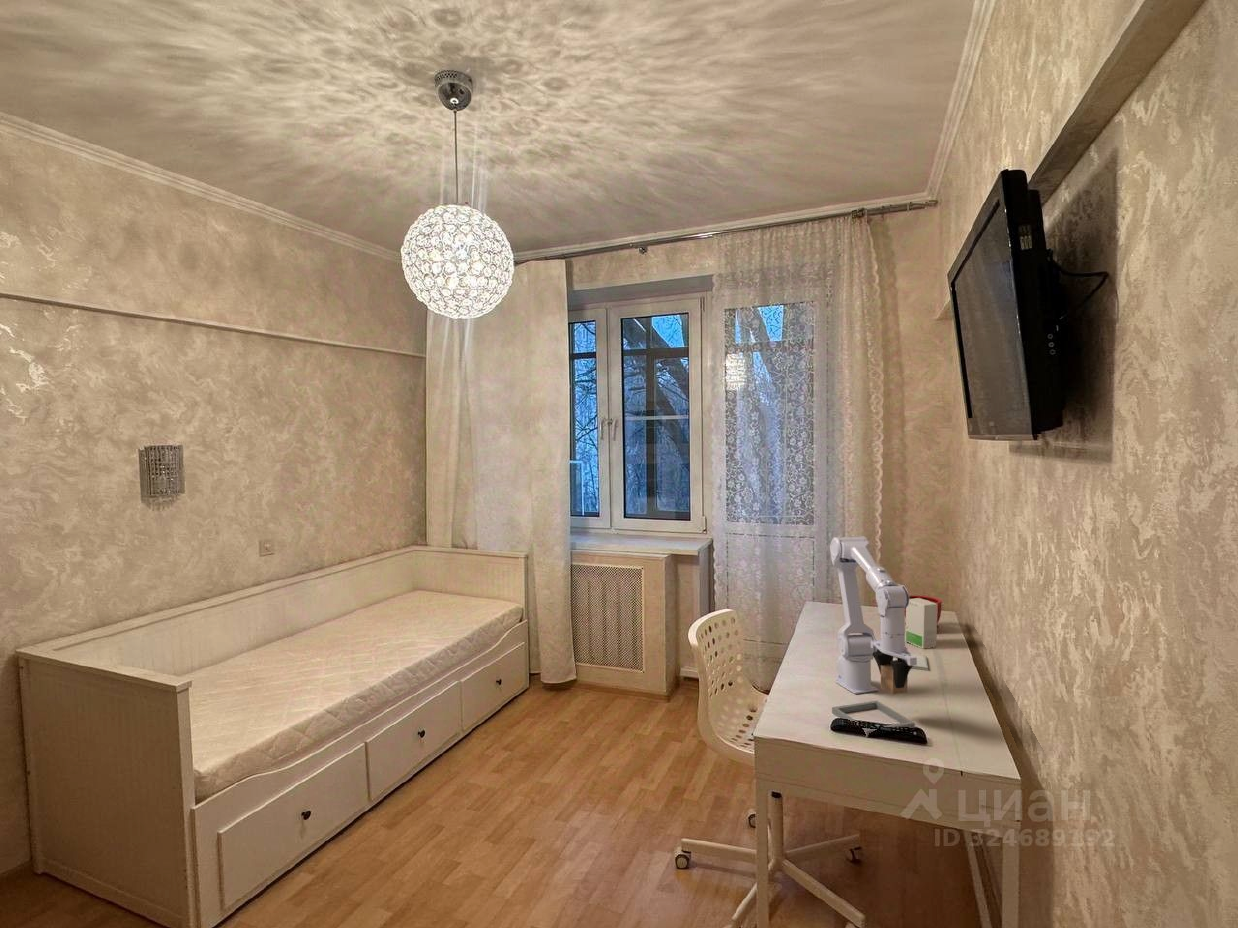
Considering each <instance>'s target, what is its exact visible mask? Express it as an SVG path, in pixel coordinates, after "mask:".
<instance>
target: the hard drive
mask: <svg viewBox="0 0 1238 928" xmlns="http://www.w3.org/2000/svg"><path fill="white" fill-rule="evenodd" d="M909 653H910V654H911V655H913V656H915V657H917V665H913V667H912V668H911V670H916V671H917V670H918V671H925V672H926V671H927V672H928V671H929V667H928V666H929V665H928V662H927V661H928V660H927V657H926V655H925V654H918V653H911V652H909Z"/></svg>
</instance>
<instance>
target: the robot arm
mask: <svg viewBox="0 0 1238 928" xmlns="http://www.w3.org/2000/svg"><path fill="white" fill-rule="evenodd" d="M829 551H830V559H831V562H832V566H833V567H835V568H836V569H837V575H838V580H839V581H838V582H839V587H840V588H839V589H840V594H841V601H842V608H843V614H844V620H845V624H844V625H843V626H841V627H840V629H839V630H837V650H838V652H839V654H840V655H839V656H838V658H837V663H836V664H837V679H836V680H834V681H835V682H834V683H836V684H838V685H840V686H841V687H843V688H844V689H846V690H848V692H850V693H852V694H853V695H854V694H855V695H857V694H863V693H865V694H866V693H871V692H878V691H879V689H878V687H875V686H873V685H872V660H875V662H876V664H877V666H878V670H879V673H880V675H881V665H888V664H891V665H892V668H893V671H894V677H895V686H896V688H903V687H904V685H905V682H906V678H907V676H908V675H909V674H910V672H911V670H912V669H911V668H912V667H913V665H917V657H915V656H913V655H911V654H910V653H911V652H909V651H908V647H906V646H905V643H906V642H905V630H906V626H905V622H906V618H905V609H904V608H906V607H907V606H908V605H909V596H910V594H909V592H908V589H907V587H906V586H905V585H904V584H900V583H897V582H895V580H894V579H893V578H892V577H891V575H890V573H889V572H888V571H887V570H886V569H885V567H883V566H880V565H878V564H877V562H876V560H875V558H874V557H873V556H872V554H871V546H870V542H869V540H868V538H867V537H865V536H863V535H861V536H854V537H853V536H850V537H849V536H848V537H847V536H846V537H838V536H836V537H833V538H832V540H831V542H830V545H829ZM858 566H860V568H862V570H863V571H864V573H866V574H865V579H866V581H867V583H868V585H870V587H871V589H872V590H873V591H874V593H875V600H876V604H877V611H878V614H880V640H878V639H876V637H875V633H874V630H873V628H871V627H870V626H868V625H867V624H865V623H864V618H863V617H864V616H863V610H862V604H861V598H860V592H859V586H858V580H857V574H856V572H857V571H856V569H857V567H858ZM894 658H895V660H894Z"/></svg>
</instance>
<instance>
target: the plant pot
mask: <svg viewBox="0 0 1238 928" xmlns="http://www.w3.org/2000/svg"><path fill="white" fill-rule="evenodd" d="M915 598H921V599H924V600H928V601H930V602H933V603H936V604H938V608H937V631H938V630H940V626H939V625H938V623H939V622H940V620H941V617H942V616H941V614H942V605H943V604H942V601H941V599H939V598H936V597H931V596H925V595H909V599H915ZM904 609H905V619H906V608H904ZM905 627H906V621H905Z"/></svg>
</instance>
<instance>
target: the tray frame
mask: <svg viewBox="0 0 1238 928" xmlns="http://www.w3.org/2000/svg"><path fill="white" fill-rule="evenodd" d="M870 709H871V710H872V709H877V710H879V711H880V712H882V713H884V714H885V715H887V716H888V717H890V718H892V719H893V720H895V721H897V722H898V723H893V724H888V725H883V726H884V727H909V728H915V729H916V727H915V724H916V723H914V722H913V721H912V720H910V719H909V718H907V717H905V716H903V715H902V714H900V713H898V712H897V711H895V710H893V709H892V708H890V707H888V705H885V704H884V703H882V702H880V701H879V700H871V701H864V702H859V703H852V704H851V703H850V704H846V705H845V704H844V705H840V706H832V707H831V713H832V715H835V716H836V717H838V718H839V717H840V718H844V719H848V720H850V721H855V722H858V721H857V720H856V719H854V718H853V717H851V716H850V715H848V714H847V713H852V712H853V713H854V712H858V711H866V710H870ZM840 718H839V719H840ZM870 728H871V727H870ZM870 728H867V727H866V728H862V729H863V730H864V732H865V734H866V736H865V737H866V738H869V737H868V735H869V733H871V732H873V731H875V730H877V729H870Z"/></svg>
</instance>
